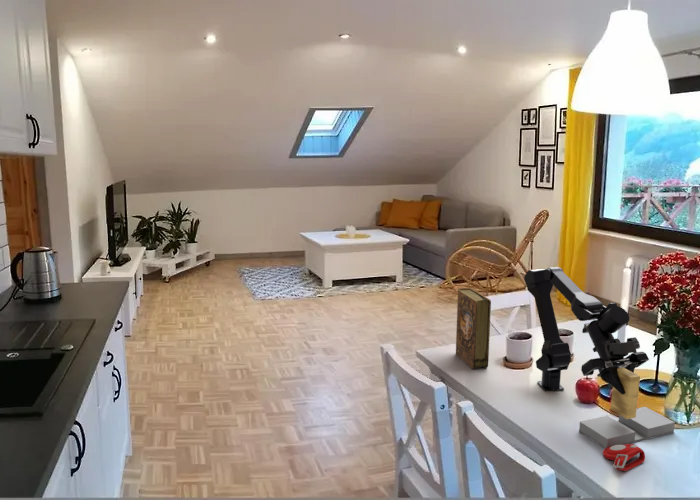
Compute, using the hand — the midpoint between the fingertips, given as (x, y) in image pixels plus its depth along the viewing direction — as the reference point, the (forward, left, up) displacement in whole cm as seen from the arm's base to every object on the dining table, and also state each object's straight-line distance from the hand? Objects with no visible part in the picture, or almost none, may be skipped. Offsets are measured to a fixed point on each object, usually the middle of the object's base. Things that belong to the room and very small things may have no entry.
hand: (628, 393), depth 159 cm
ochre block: (-1, 0, -7) cm, 7 cm away
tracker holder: (+12, -8, -13) cm, 19 cm away
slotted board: (-2, +1, -12) cm, 13 cm away
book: (-55, -28, -13) cm, 63 cm away
